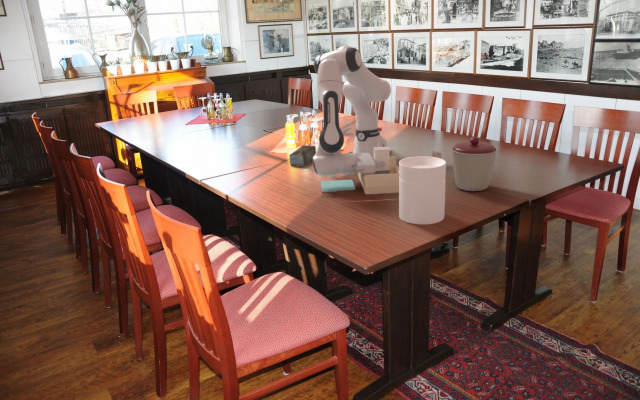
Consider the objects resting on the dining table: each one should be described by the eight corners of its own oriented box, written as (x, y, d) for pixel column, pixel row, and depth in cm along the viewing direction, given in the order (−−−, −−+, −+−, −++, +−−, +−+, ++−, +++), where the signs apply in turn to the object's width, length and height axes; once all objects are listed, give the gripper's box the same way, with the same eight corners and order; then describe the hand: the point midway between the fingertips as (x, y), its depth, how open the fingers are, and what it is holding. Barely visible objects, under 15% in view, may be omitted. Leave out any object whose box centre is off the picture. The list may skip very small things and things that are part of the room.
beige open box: (365, 195, 211) (365, 175, 208) (358, 176, 236) (357, 158, 233) (407, 193, 211) (407, 172, 208) (395, 174, 237) (396, 156, 234)
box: (375, 182, 221) (375, 150, 216) (373, 178, 226) (373, 147, 221) (389, 181, 221) (389, 149, 216) (387, 178, 226) (387, 146, 221)
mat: (321, 192, 217) (321, 191, 216) (320, 182, 230) (320, 181, 230) (355, 190, 217) (355, 189, 217) (352, 180, 230) (352, 179, 230)
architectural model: (435, 170, 242) (436, 154, 239) (425, 166, 248) (425, 151, 245) (441, 168, 244) (441, 153, 241) (430, 165, 249) (431, 150, 247)
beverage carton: (289, 166, 259) (288, 153, 257) (302, 156, 276) (301, 144, 274) (304, 167, 256) (303, 154, 254) (316, 157, 273) (316, 145, 271)
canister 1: (438, 207, 194) (439, 155, 188) (449, 223, 179) (451, 167, 172) (395, 209, 194) (395, 157, 187) (403, 225, 179) (403, 169, 172)
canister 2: (461, 178, 226) (463, 130, 219) (502, 185, 215) (505, 135, 208) (441, 190, 213) (443, 139, 206) (484, 197, 202) (487, 144, 195)
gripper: (353, 163, 209) (387, 161, 210) (348, 150, 229) (380, 149, 229) (353, 178, 212) (387, 176, 212) (349, 164, 231) (380, 162, 231)
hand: (383, 161), depth 221 cm, fingers closed on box, 5 cm apart
